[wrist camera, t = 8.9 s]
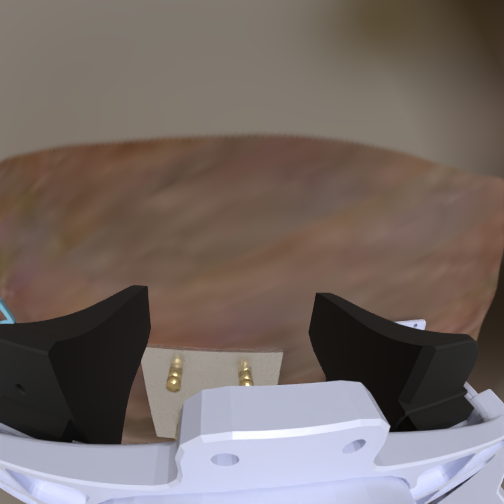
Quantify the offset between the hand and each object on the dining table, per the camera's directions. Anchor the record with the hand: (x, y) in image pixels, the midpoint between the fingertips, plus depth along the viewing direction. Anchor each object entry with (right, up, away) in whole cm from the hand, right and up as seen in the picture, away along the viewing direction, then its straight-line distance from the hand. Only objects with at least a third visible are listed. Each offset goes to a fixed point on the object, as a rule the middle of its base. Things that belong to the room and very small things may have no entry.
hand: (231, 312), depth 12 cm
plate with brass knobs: (-3, -11, +13) cm, 18 cm away
